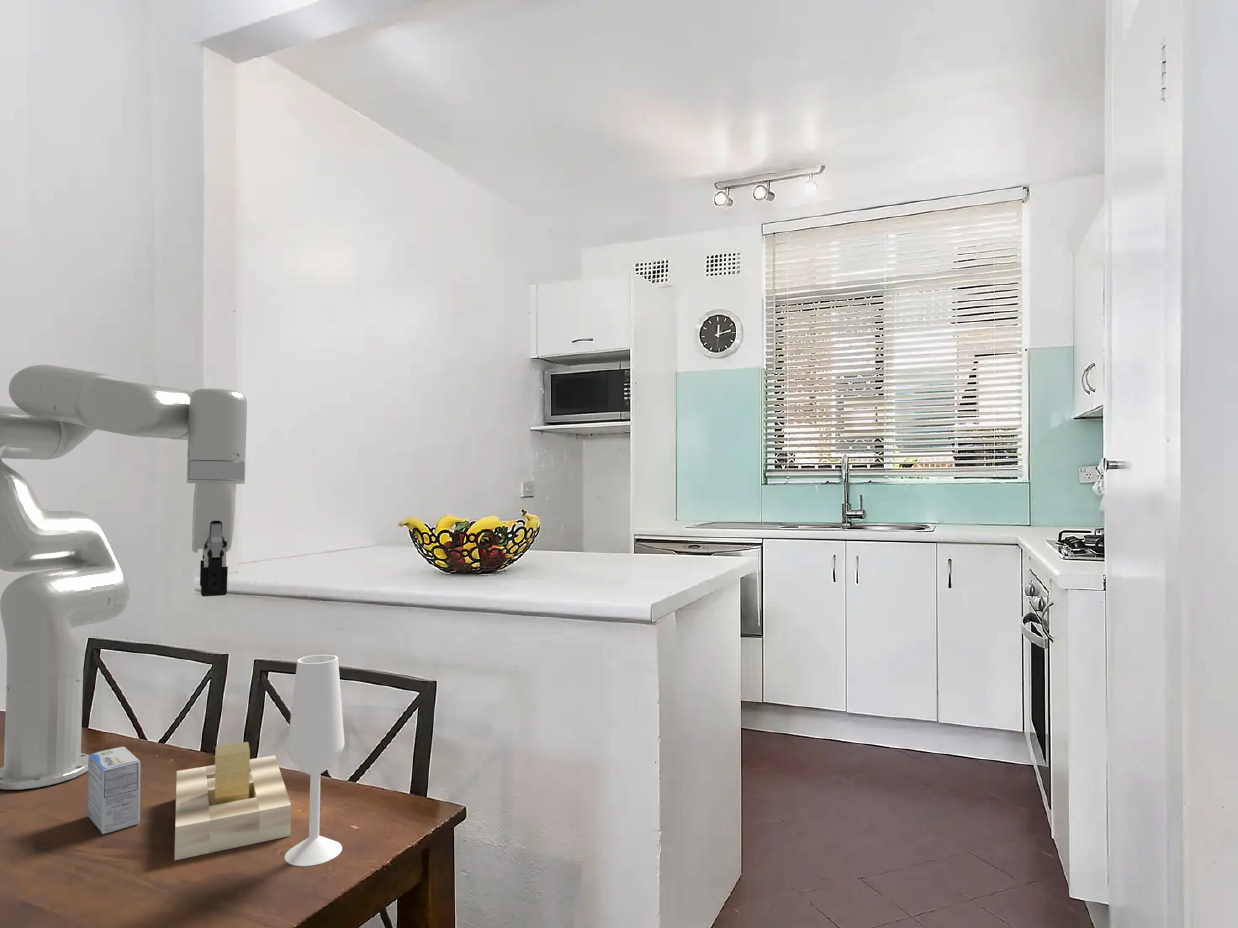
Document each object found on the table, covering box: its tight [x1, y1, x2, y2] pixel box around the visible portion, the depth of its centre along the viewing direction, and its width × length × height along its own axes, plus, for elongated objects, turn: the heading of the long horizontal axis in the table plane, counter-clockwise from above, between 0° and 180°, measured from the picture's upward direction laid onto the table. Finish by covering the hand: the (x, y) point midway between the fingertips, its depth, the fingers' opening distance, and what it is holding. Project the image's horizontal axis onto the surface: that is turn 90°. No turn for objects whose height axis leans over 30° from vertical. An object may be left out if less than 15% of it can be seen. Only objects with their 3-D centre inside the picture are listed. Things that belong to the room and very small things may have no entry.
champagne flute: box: [284, 654, 345, 867], centre depth 93 cm, size 7×7×24 cm
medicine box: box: [86, 746, 141, 835], centre depth 101 cm, size 8×4×9 cm, turn 47°
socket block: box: [174, 755, 292, 861], centre depth 102 cm, size 20×13×4 cm, turn 30°
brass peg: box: [214, 741, 251, 805], centre depth 100 cm, size 4×4×10 cm
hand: (212, 590), depth 109 cm, fingers open, 9 cm apart
